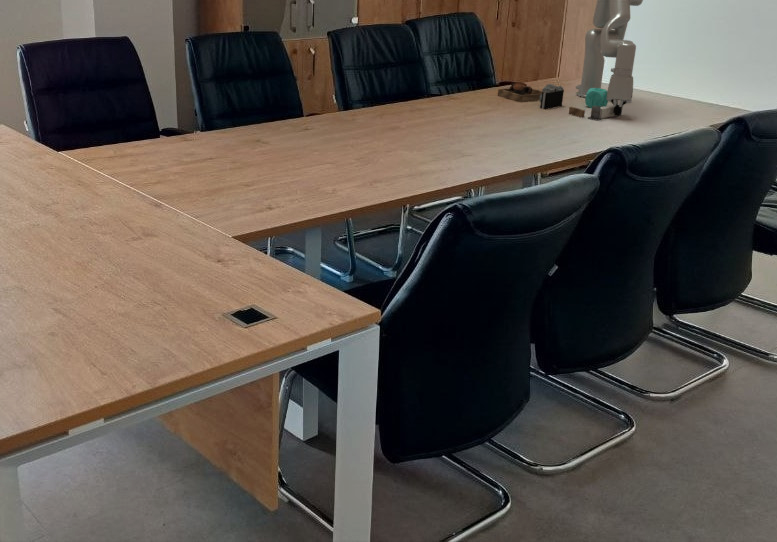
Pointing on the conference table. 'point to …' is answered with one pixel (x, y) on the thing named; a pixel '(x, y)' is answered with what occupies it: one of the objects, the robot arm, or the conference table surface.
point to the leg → (607, 111)
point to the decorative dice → (596, 97)
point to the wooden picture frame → (520, 98)
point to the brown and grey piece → (579, 112)
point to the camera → (551, 96)
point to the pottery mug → (520, 88)
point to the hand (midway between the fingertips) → (616, 115)
